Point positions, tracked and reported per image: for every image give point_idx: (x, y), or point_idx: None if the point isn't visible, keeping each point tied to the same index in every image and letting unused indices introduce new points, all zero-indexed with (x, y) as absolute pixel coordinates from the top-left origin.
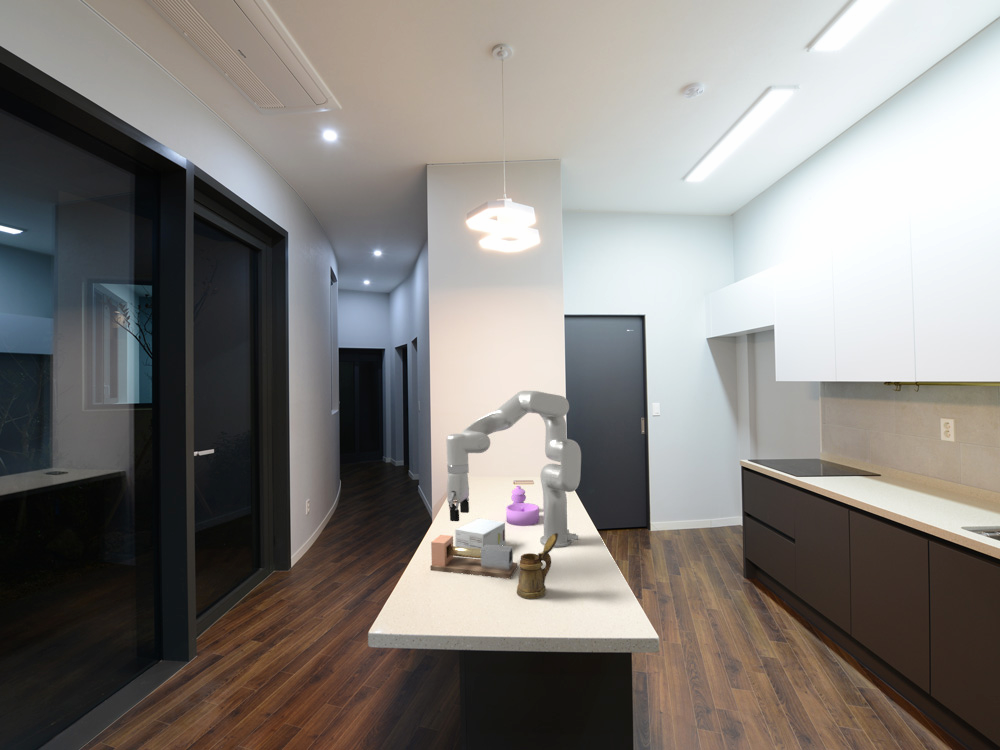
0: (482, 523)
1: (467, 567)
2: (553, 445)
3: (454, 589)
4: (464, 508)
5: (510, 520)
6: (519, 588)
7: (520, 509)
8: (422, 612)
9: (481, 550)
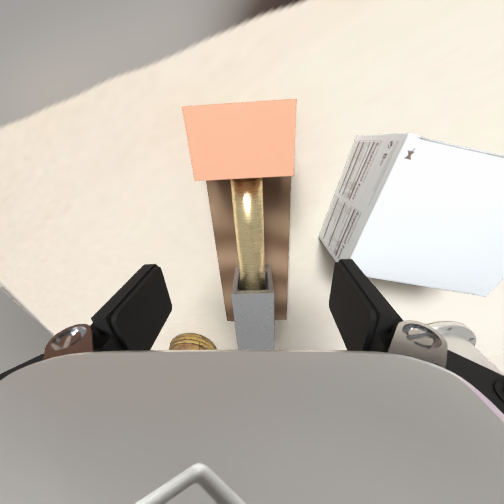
0: (486, 228)
1: (228, 234)
2: None
3: (136, 238)
4: (340, 306)
5: None
6: (173, 348)
7: None
8: (18, 220)
9: (231, 293)
